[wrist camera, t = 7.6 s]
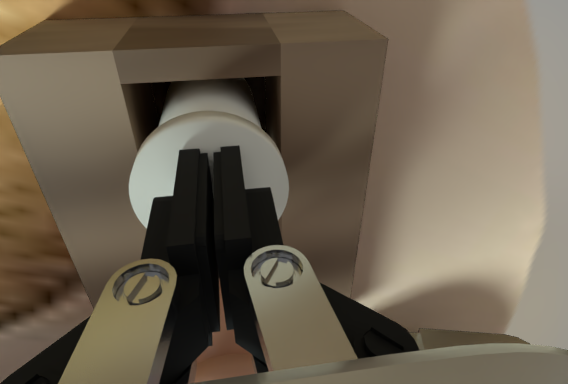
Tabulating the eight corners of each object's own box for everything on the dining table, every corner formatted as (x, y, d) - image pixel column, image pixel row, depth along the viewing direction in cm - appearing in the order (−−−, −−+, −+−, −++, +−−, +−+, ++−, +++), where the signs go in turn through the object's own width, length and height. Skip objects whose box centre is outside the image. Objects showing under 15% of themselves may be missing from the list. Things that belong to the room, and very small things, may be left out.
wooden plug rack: (319, 320, 28) (337, 385, 24) (151, 343, 27) (141, 417, 23) (343, 10, 16) (388, 39, 12) (44, 20, 15) (-18, 56, 11)
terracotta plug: (275, 294, 20) (300, 435, 15) (185, 306, 19) (176, 457, 14) (274, 226, 17) (304, 367, 12) (169, 237, 17) (150, 390, 11)
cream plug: (264, 148, 18) (288, 244, 13) (166, 156, 18) (147, 259, 12) (261, 49, 16) (289, 117, 10) (146, 55, 15) (109, 128, 10)
